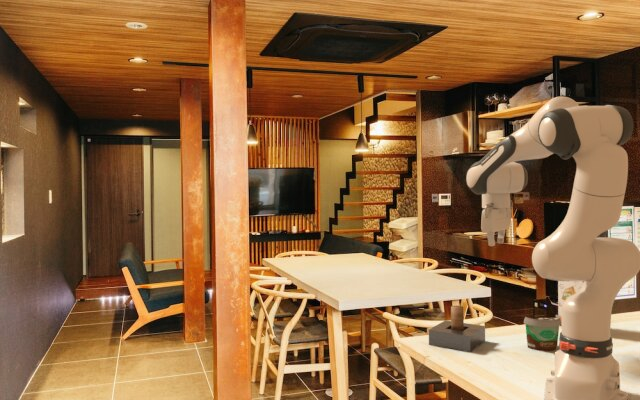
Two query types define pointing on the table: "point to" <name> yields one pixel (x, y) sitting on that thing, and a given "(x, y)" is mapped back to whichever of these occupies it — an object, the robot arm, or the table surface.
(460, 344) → the socket block
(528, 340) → the food container
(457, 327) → the walnut peg
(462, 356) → the table surface
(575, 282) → the cracker box
